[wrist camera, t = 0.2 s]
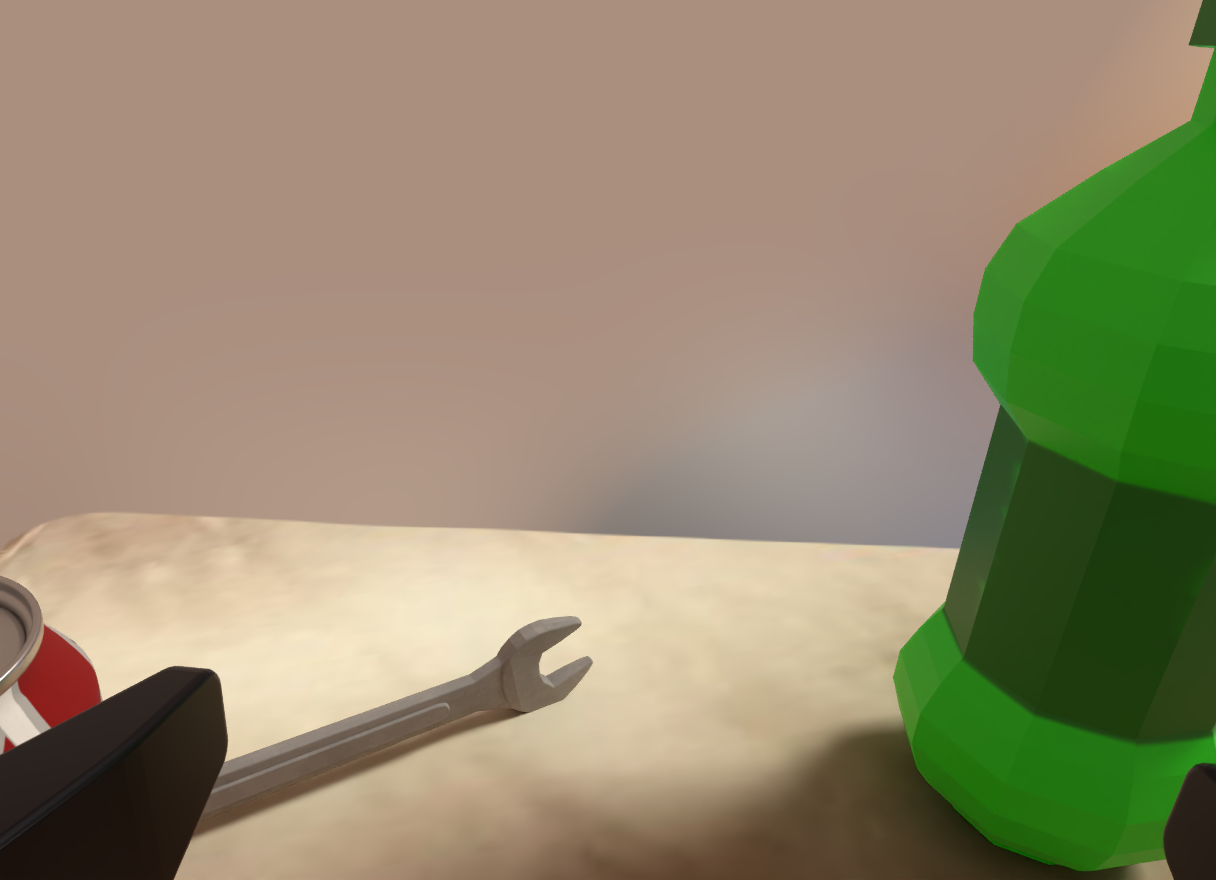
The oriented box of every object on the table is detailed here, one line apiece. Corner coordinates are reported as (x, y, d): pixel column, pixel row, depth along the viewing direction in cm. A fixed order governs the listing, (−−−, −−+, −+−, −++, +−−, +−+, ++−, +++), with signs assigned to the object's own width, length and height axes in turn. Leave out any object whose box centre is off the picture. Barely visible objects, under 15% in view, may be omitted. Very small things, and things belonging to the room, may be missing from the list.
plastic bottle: (1110, 707, 34) (1400, -12, 23) (1266, 970, 24) (1882, -45, 14) (850, 676, 35) (1016, -36, 24) (903, 920, 25) (1218, -82, 14)
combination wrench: (-84, 874, 21) (606, 620, 31) (-80, 835, 22) (587, 601, 32) (-39, 969, 23) (602, 700, 33) (-38, 929, 24) (584, 679, 34)
